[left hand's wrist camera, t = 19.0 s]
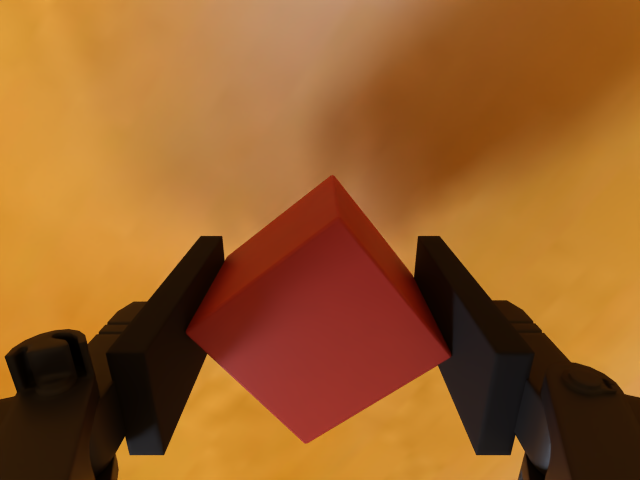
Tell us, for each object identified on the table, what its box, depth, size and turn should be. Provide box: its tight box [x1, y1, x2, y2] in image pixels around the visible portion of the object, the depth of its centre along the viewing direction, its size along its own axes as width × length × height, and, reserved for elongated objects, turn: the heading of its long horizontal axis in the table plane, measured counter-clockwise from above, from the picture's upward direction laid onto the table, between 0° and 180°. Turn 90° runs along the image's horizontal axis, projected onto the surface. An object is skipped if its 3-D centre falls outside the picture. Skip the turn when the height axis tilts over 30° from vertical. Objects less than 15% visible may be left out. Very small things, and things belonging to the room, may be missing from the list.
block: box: [185, 175, 452, 443], centre depth 12 cm, size 5×5×5 cm
